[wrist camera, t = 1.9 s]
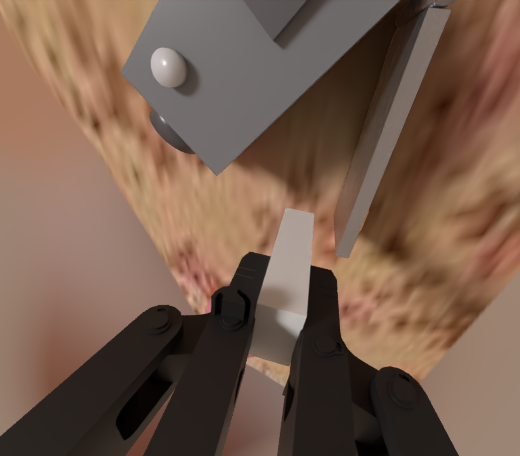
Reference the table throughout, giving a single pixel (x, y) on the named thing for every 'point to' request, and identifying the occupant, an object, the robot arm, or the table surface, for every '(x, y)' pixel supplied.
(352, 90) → the table surface
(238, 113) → the grey knobbed block
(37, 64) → the table surface
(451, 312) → the table surface
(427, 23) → the side door
